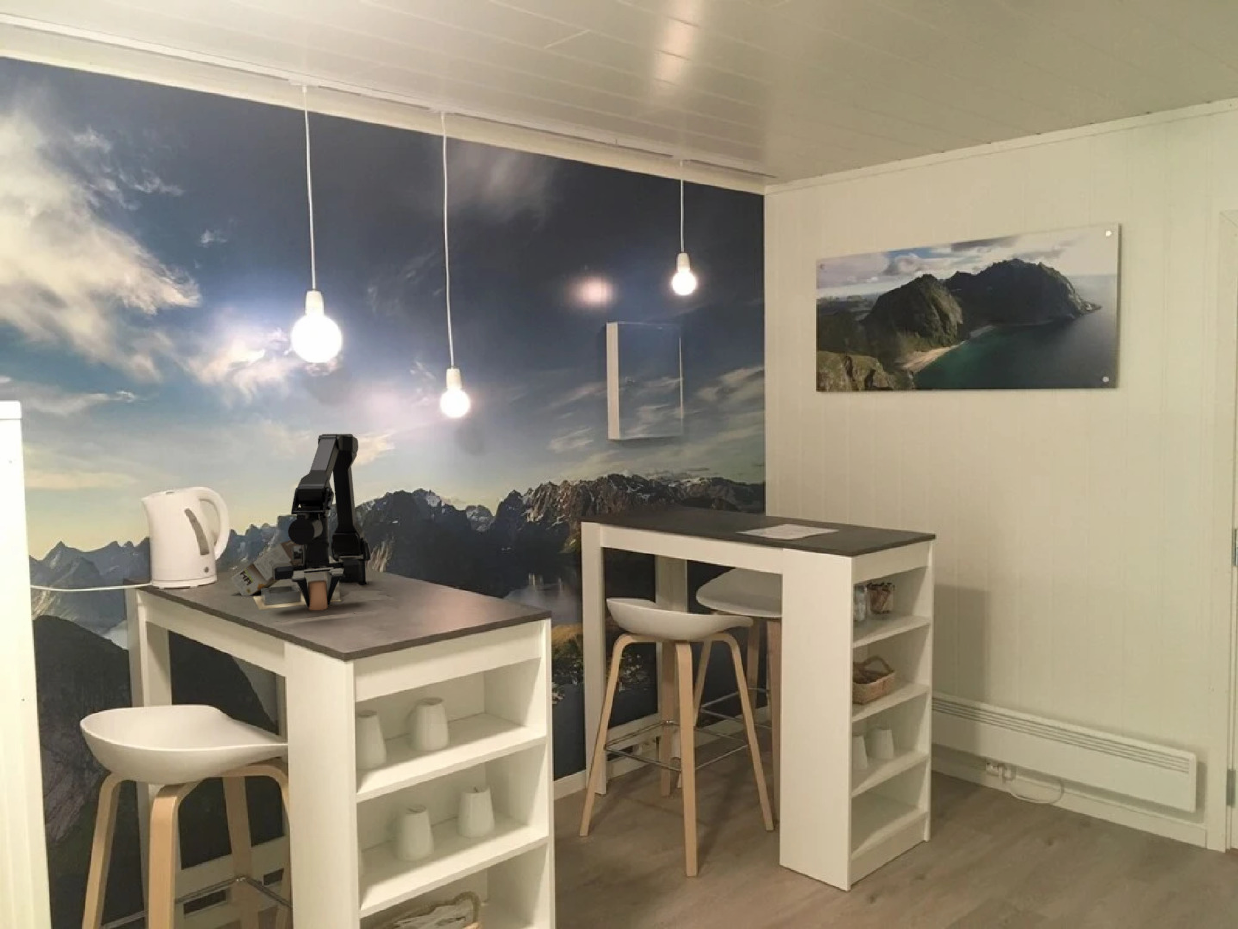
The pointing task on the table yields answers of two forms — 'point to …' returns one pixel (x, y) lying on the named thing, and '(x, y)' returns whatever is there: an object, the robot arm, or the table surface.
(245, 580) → the coffee box
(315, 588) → the peg
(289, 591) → the socket
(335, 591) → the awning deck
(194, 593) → the table surface
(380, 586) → the table surface
